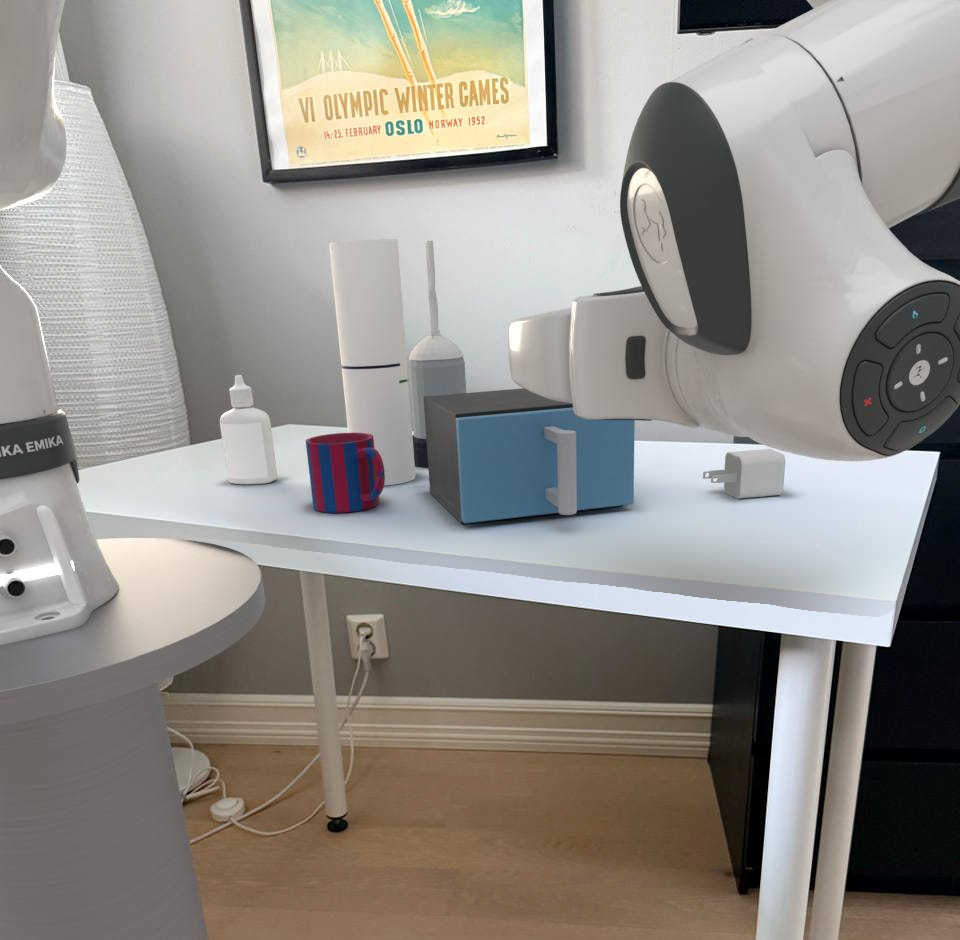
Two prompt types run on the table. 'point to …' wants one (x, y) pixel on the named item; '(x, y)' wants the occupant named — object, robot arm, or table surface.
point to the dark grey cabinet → (444, 436)
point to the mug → (344, 472)
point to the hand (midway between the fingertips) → (625, 336)
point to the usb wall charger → (751, 473)
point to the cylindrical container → (374, 349)
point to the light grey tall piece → (432, 368)
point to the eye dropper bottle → (247, 439)
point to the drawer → (542, 464)
